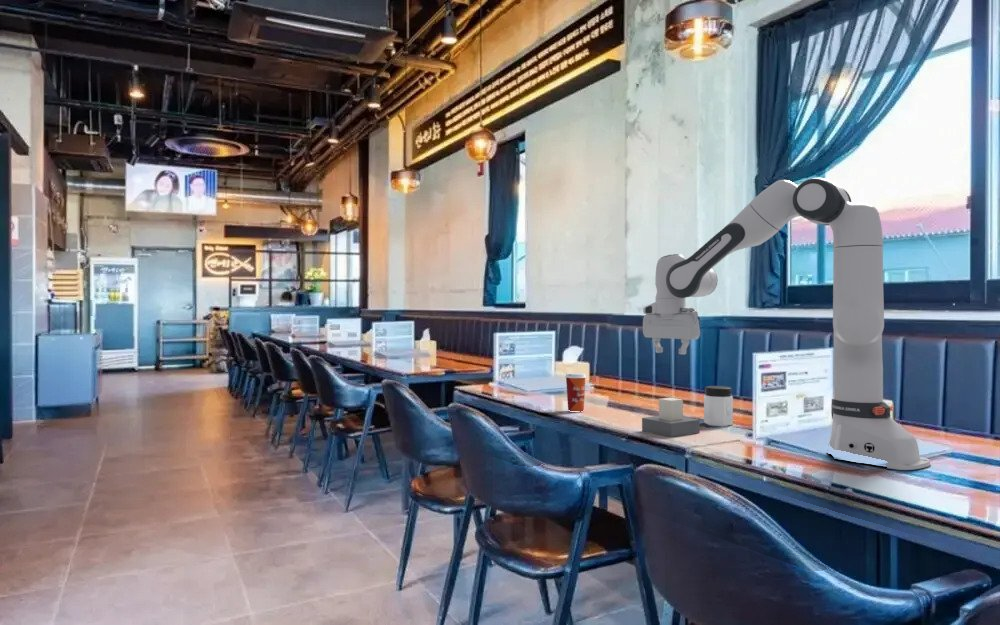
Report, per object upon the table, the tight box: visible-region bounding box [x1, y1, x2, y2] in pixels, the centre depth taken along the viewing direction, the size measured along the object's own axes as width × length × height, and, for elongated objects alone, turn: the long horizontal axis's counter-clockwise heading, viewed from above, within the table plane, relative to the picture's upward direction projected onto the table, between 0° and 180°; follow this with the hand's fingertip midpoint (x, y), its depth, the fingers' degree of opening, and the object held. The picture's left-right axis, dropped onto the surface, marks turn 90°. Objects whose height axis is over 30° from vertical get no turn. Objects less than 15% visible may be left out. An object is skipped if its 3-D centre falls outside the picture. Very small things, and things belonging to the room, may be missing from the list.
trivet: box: [641, 415, 701, 438], centre depth 199 cm, size 12×12×4 cm
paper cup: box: [565, 372, 587, 412], centre depth 239 cm, size 8×8×14 cm
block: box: [658, 397, 684, 421], centre depth 199 cm, size 5×5×6 cm
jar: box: [703, 385, 734, 427], centre depth 212 cm, size 9×8×12 cm
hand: (670, 353), depth 199 cm, fingers open, 8 cm apart
